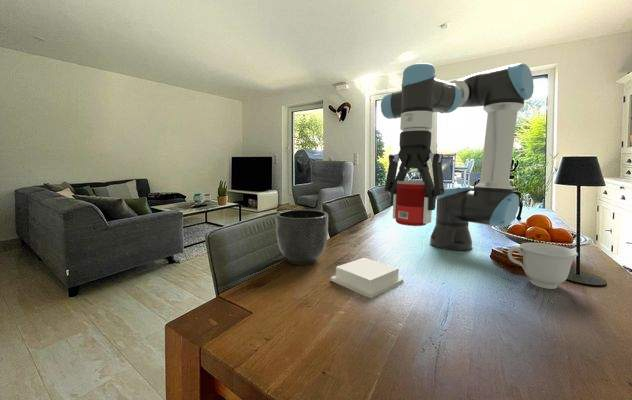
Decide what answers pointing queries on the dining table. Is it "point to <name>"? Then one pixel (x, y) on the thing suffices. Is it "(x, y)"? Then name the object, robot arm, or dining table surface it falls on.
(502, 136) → the robot arm
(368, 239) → the dining table surface
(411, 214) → the canned food
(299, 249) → the planter
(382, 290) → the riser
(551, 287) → the teacup
